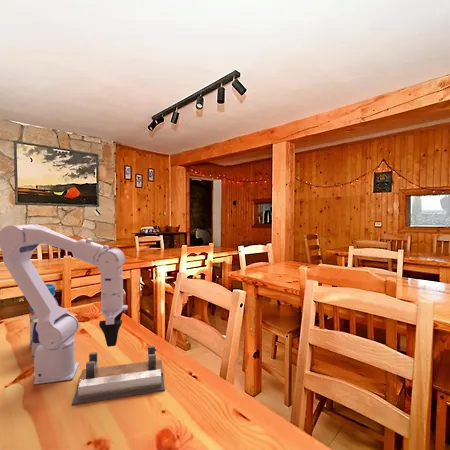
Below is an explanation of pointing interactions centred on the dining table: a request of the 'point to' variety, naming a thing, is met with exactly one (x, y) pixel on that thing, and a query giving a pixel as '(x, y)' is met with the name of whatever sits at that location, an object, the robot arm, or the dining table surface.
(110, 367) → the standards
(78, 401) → the dark grey flat panel
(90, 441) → the dining table surface
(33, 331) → the energy drink
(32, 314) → the beverage bottle
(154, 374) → the rail
